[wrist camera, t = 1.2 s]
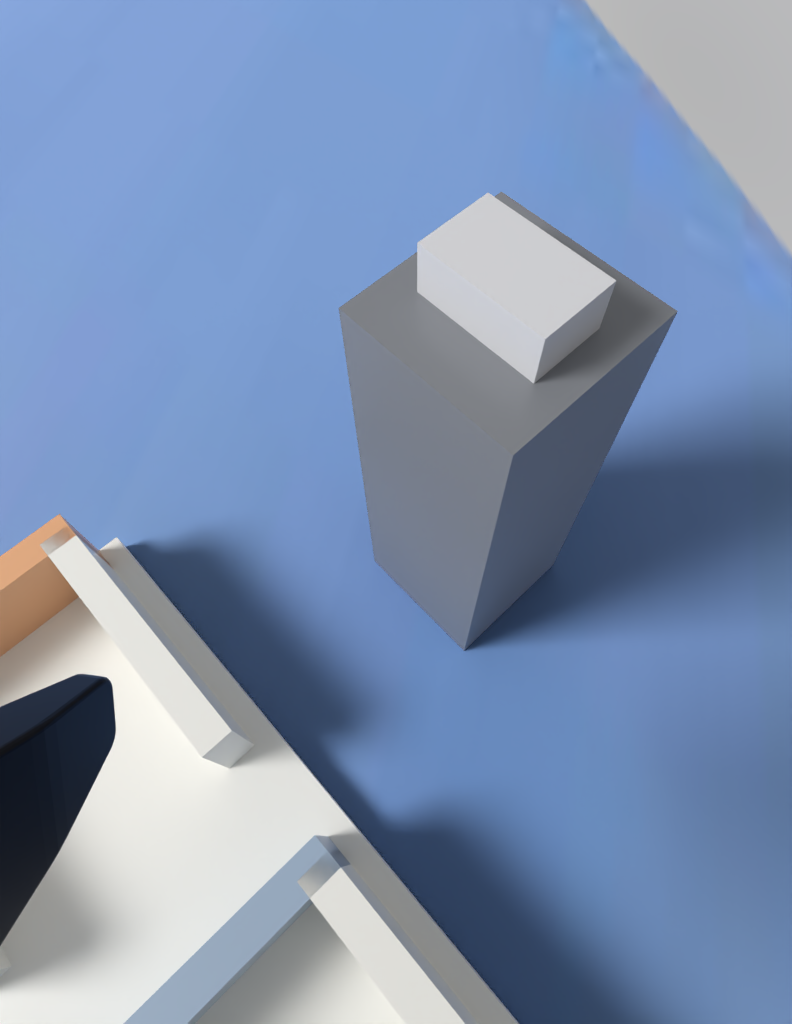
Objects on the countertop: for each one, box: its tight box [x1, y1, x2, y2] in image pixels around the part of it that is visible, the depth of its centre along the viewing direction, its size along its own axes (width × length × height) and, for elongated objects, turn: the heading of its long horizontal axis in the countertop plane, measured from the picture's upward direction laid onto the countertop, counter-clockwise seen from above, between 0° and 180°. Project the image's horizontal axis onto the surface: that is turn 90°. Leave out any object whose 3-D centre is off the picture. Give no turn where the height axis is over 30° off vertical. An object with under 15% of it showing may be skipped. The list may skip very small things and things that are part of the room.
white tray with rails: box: [0, 514, 519, 1024], centre depth 18 cm, size 22×11×4 cm, turn 43°
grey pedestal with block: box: [339, 192, 677, 650], centre depth 18 cm, size 4×4×14 cm
